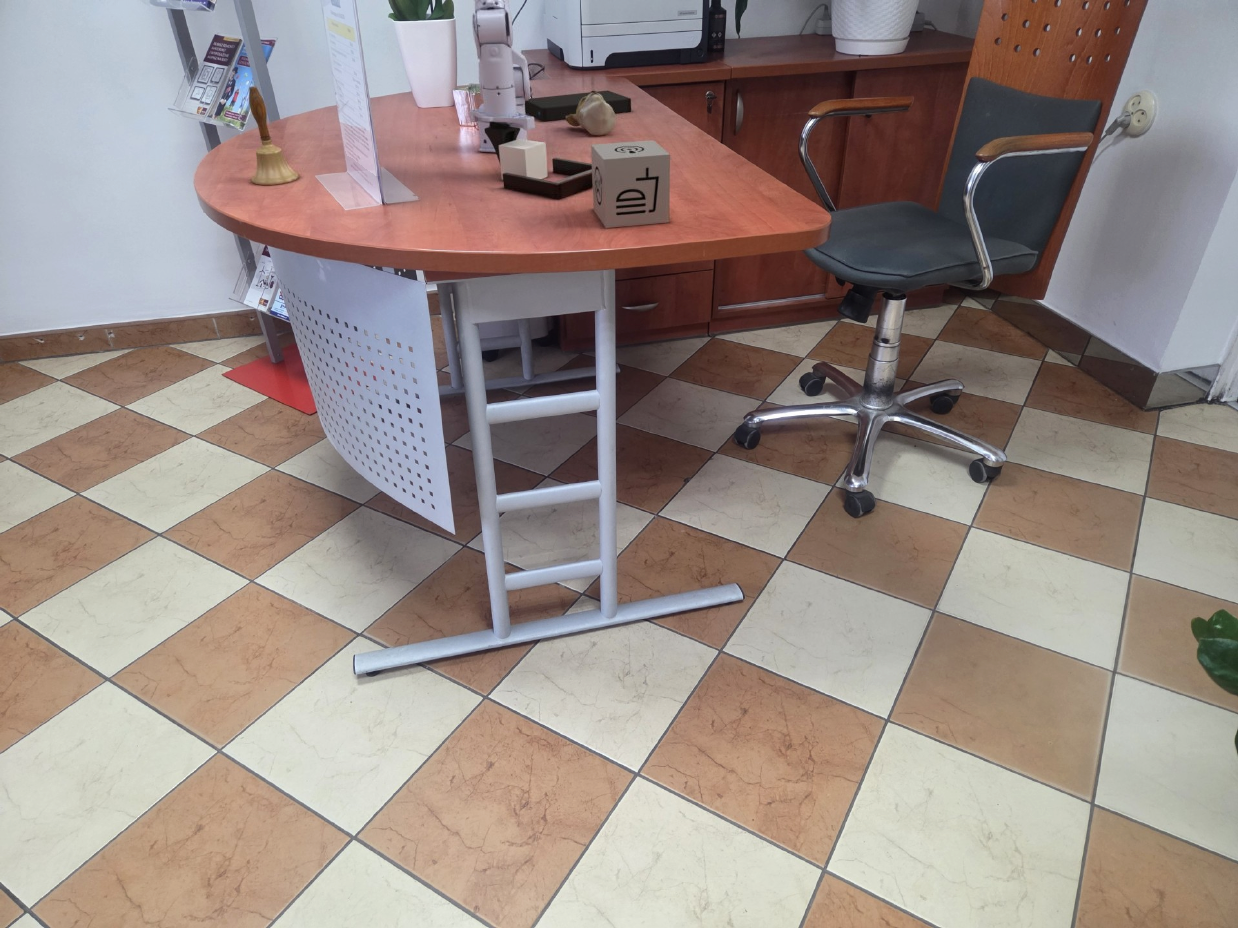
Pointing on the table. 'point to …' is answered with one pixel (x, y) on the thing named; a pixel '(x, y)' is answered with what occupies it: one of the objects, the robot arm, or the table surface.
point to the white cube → (524, 158)
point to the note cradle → (558, 189)
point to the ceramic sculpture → (593, 115)
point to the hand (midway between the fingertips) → (506, 167)
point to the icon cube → (631, 183)
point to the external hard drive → (571, 105)
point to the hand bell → (268, 148)
